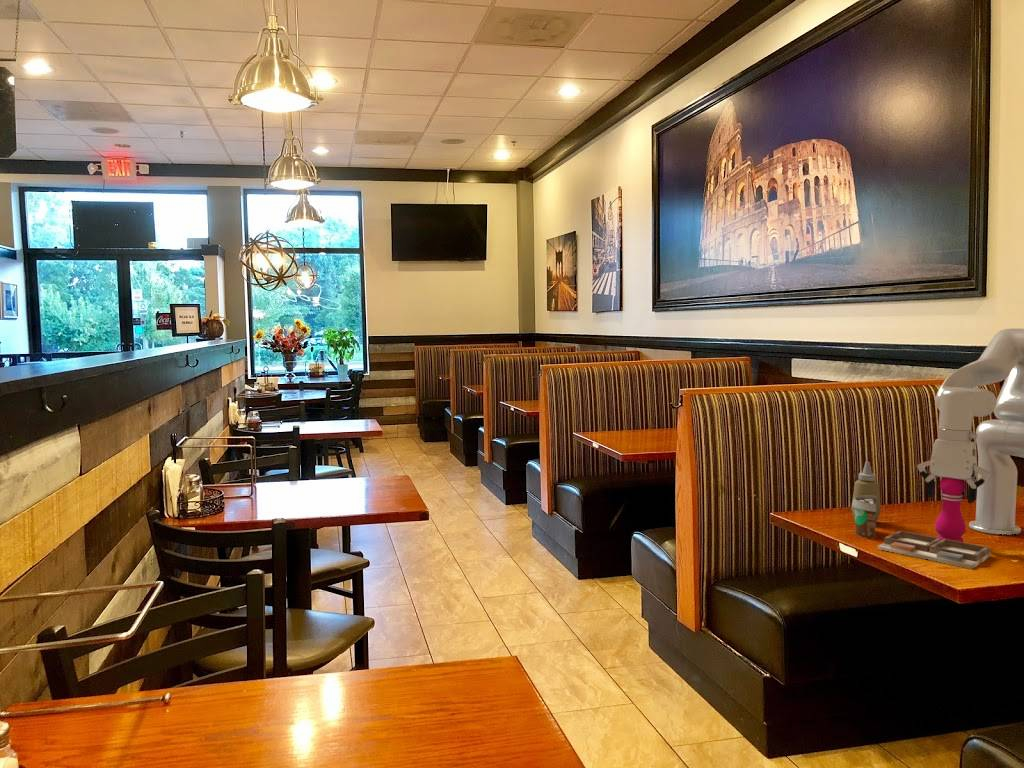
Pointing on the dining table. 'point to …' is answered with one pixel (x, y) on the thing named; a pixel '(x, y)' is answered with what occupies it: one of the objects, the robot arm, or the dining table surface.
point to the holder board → (936, 549)
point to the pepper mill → (951, 510)
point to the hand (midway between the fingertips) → (950, 499)
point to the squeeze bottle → (867, 487)
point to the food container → (865, 515)
